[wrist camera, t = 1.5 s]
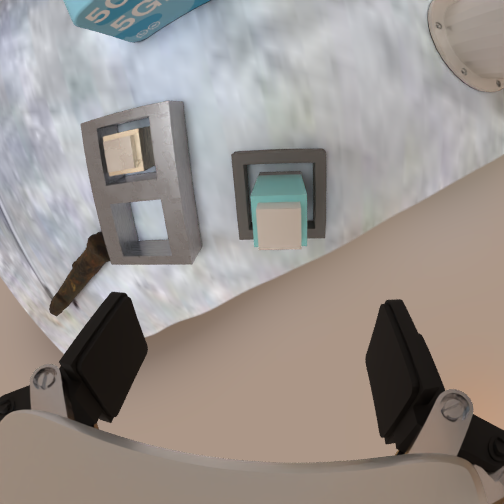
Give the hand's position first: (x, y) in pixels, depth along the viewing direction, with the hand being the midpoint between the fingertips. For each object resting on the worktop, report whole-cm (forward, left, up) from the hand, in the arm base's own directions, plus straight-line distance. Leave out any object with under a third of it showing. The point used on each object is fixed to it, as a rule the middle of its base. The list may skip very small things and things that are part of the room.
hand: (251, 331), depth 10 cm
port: (+13, -1, -20) cm, 24 cm away
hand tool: (+27, +11, -21) cm, 36 cm away
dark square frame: (-1, +1, -20) cm, 21 cm away
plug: (-1, +1, -20) cm, 21 cm away
